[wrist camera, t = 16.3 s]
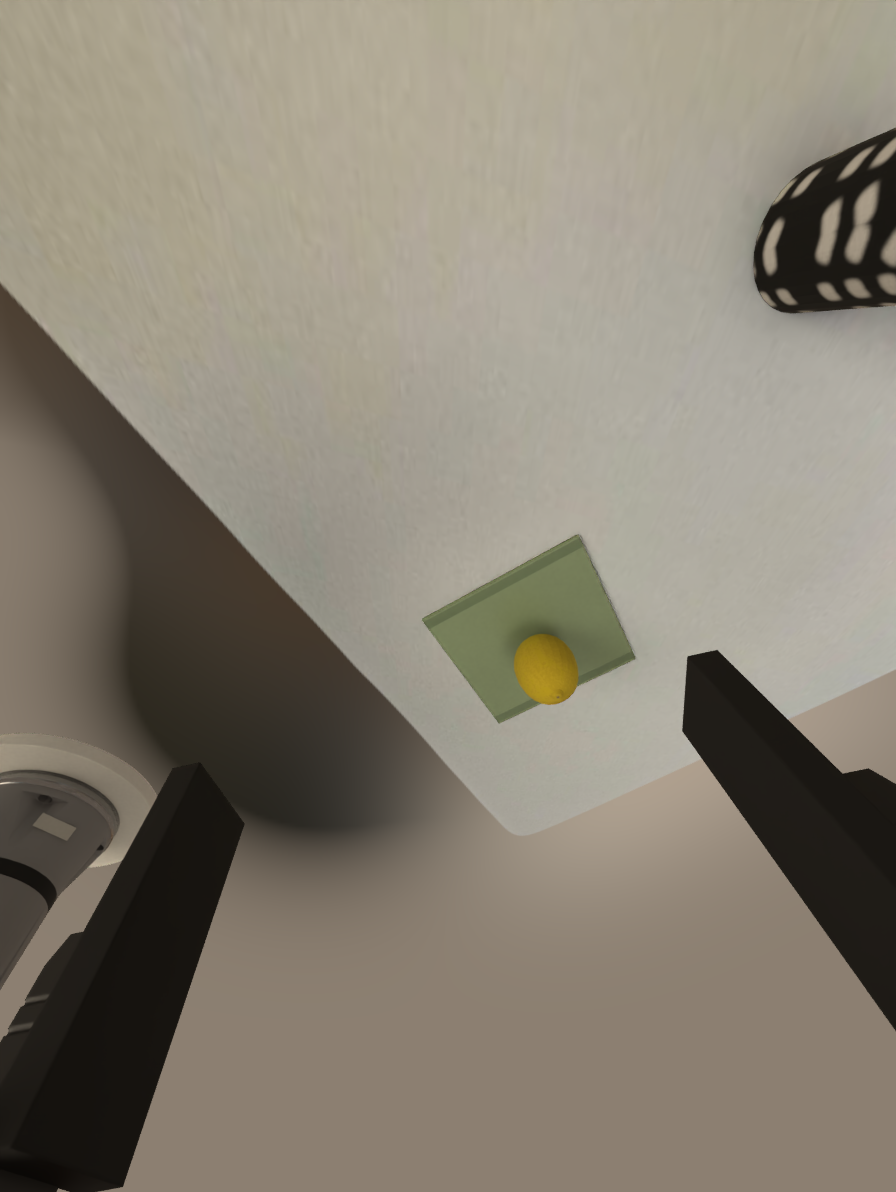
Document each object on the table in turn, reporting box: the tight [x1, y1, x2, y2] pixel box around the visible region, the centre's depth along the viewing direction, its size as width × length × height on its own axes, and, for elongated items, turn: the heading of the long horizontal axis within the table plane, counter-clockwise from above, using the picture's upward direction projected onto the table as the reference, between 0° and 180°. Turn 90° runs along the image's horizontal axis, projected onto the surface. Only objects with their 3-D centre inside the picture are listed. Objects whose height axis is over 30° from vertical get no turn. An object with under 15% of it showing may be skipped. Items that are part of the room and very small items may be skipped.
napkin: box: [422, 535, 636, 723], centre depth 44 cm, size 16×16×1 cm
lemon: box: [514, 634, 578, 705], centre depth 41 cm, size 6×6×8 cm
